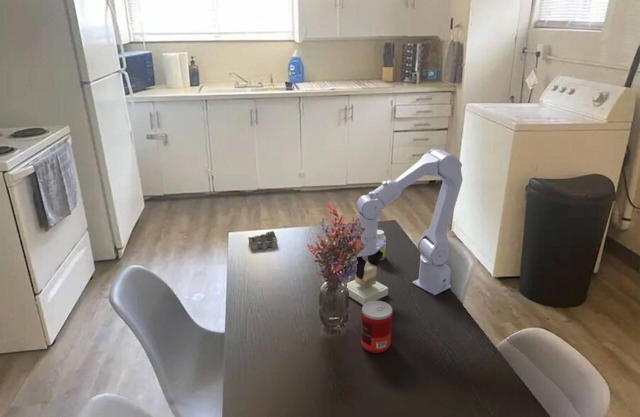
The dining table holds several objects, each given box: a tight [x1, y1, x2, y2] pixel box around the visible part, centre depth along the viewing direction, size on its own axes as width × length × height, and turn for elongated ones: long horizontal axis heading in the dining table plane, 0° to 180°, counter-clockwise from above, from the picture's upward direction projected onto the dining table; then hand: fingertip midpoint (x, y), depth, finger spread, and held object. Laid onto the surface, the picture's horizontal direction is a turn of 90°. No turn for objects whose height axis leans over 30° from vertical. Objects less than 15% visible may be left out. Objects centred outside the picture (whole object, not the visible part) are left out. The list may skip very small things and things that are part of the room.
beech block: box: [354, 260, 378, 288], centre depth 145 cm, size 4×4×6 cm
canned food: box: [360, 300, 393, 354], centre depth 123 cm, size 8×8×11 cm
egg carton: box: [247, 231, 278, 251], centre depth 179 cm, size 11×8×4 cm
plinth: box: [346, 279, 389, 306], centre depth 147 cm, size 10×10×3 cm
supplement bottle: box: [377, 229, 387, 261], centre depth 168 cm, size 6×6×10 cm
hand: (365, 275), depth 145 cm, fingers closed on beech block, 4 cm apart
